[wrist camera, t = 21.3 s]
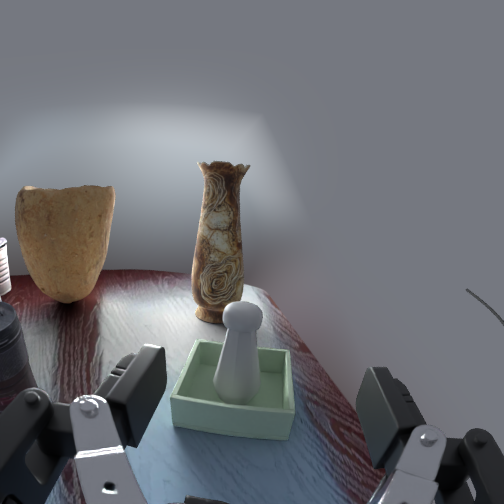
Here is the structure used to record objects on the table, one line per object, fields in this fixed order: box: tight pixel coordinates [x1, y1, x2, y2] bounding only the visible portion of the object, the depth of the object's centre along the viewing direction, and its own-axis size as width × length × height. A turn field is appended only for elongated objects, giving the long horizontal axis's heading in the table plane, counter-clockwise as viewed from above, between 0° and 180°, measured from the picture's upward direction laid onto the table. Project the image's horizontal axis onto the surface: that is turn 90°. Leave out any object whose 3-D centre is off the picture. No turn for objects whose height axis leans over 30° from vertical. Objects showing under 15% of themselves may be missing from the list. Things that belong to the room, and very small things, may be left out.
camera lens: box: [0, 301, 38, 448], centre depth 19 cm, size 8×8×15 cm
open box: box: [170, 339, 295, 441], centre depth 34 cm, size 13×13×5 cm
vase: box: [192, 161, 250, 323], centre depth 56 cm, size 10×11×30 cm
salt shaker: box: [213, 301, 263, 405], centre depth 33 cm, size 6×6×13 cm
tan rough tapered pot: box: [15, 185, 115, 303], centre depth 52 cm, size 22×22×25 cm
